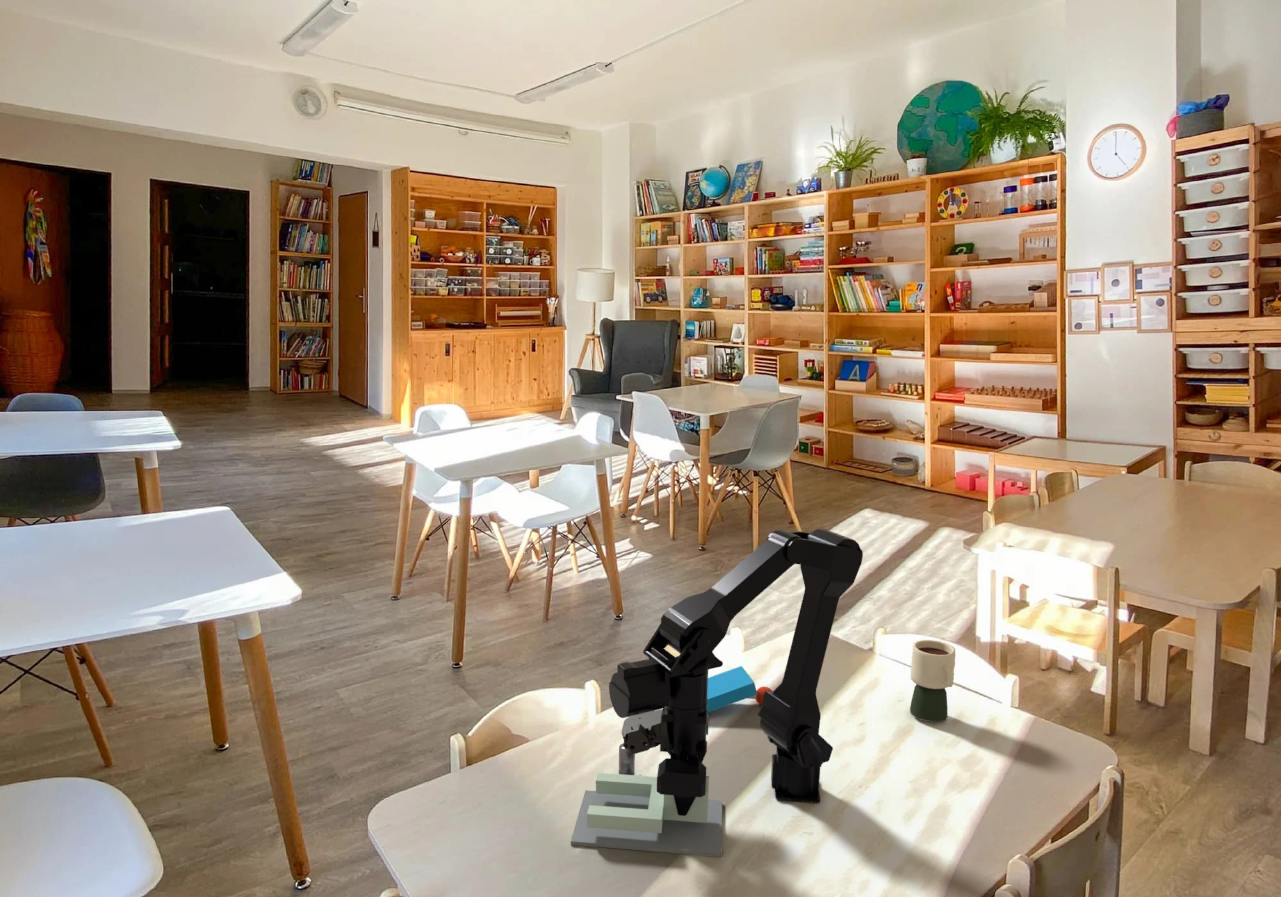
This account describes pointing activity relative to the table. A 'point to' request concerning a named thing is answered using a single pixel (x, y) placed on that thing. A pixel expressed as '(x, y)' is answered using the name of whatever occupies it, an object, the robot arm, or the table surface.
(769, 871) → the table surface
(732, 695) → the lever
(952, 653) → the cream and green cup
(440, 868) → the table surface
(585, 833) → the mat
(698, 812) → the c link
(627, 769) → the grey metal rod
